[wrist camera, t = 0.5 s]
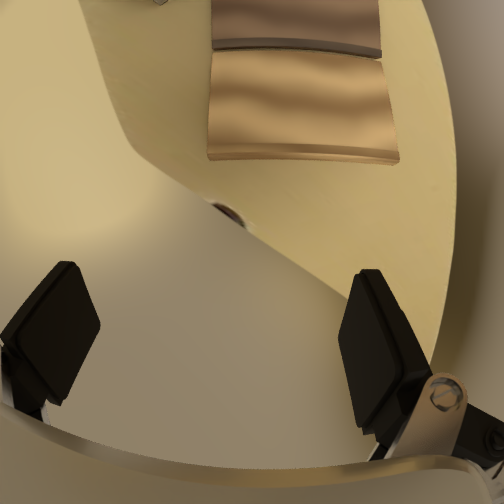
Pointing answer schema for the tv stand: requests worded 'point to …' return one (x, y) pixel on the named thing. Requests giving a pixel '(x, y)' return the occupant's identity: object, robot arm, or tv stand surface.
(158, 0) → the coffee box
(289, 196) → the tv stand surface
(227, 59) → the oak plank
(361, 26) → the walnut board
